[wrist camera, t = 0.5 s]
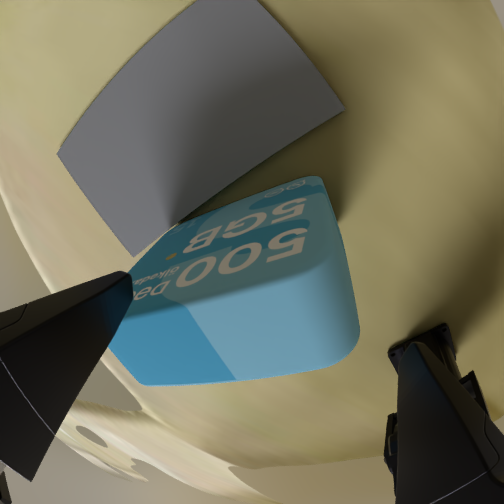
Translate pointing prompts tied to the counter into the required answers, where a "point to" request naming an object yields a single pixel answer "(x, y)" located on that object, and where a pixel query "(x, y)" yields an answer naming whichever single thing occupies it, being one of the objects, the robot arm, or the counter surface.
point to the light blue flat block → (242, 293)
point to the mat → (193, 117)
